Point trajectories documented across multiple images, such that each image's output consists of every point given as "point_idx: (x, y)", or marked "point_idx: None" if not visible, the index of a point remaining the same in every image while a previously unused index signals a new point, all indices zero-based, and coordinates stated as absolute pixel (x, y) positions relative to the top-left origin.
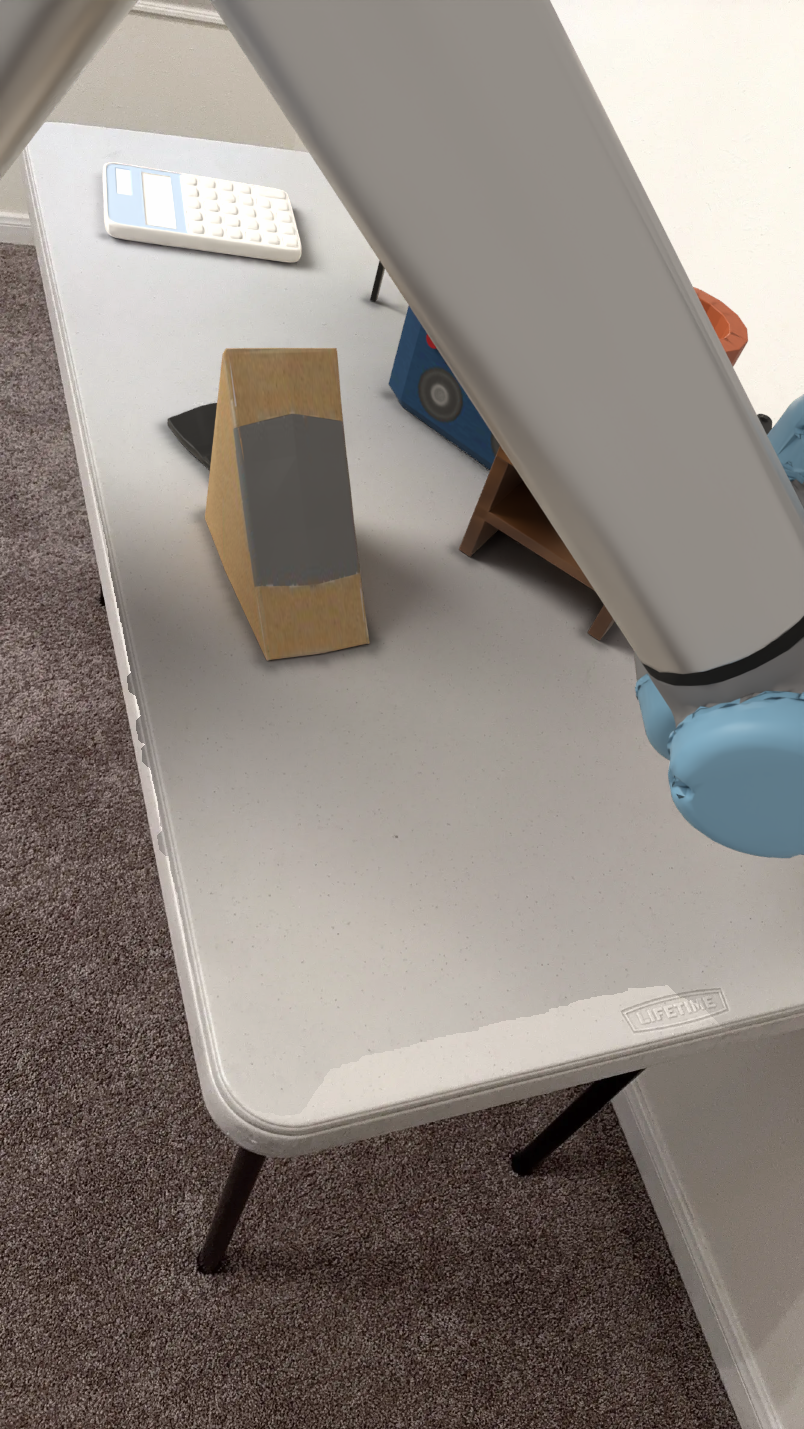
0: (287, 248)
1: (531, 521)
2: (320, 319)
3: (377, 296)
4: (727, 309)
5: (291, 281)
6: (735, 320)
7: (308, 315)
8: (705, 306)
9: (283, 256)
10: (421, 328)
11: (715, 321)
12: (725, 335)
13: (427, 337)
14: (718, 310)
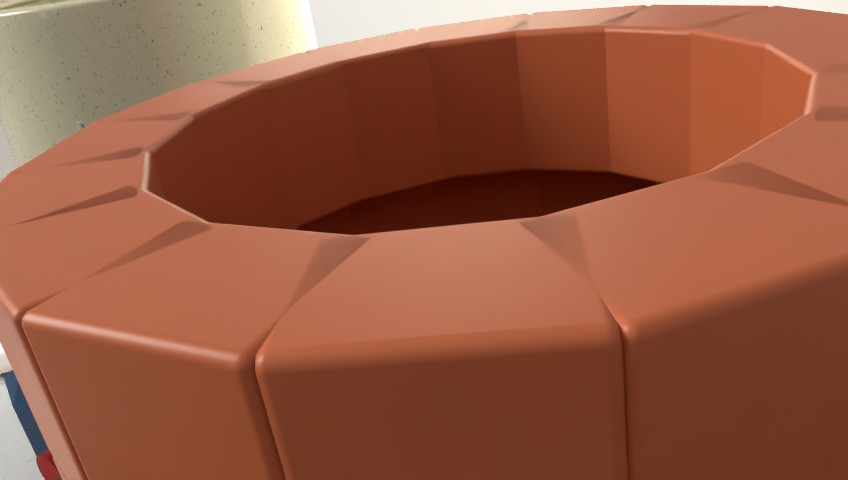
0: (4, 352)
1: None
2: (27, 451)
3: None
4: (705, 11)
5: (8, 399)
6: (788, 23)
7: (6, 453)
8: (582, 52)
9: (2, 365)
10: (37, 454)
11: (673, 89)
12: (786, 114)
13: (43, 473)
14: (658, 29)
